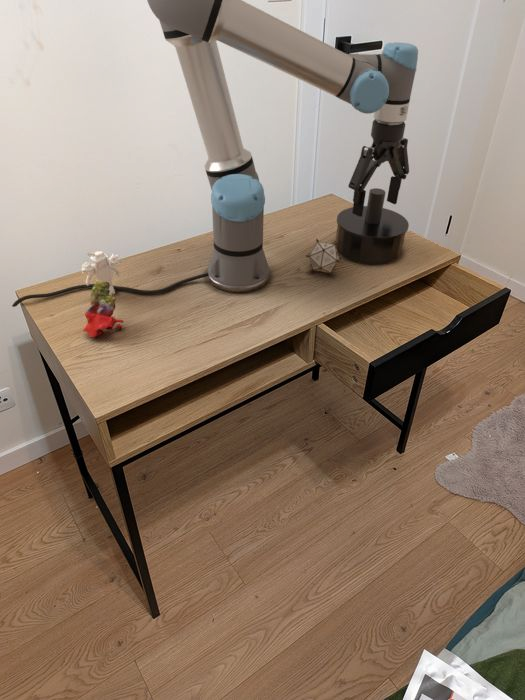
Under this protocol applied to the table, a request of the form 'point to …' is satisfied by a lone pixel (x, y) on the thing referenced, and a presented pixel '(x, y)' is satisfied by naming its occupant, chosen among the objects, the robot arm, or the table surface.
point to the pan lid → (373, 219)
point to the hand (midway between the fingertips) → (374, 208)
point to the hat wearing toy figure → (102, 268)
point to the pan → (368, 248)
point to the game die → (324, 257)
